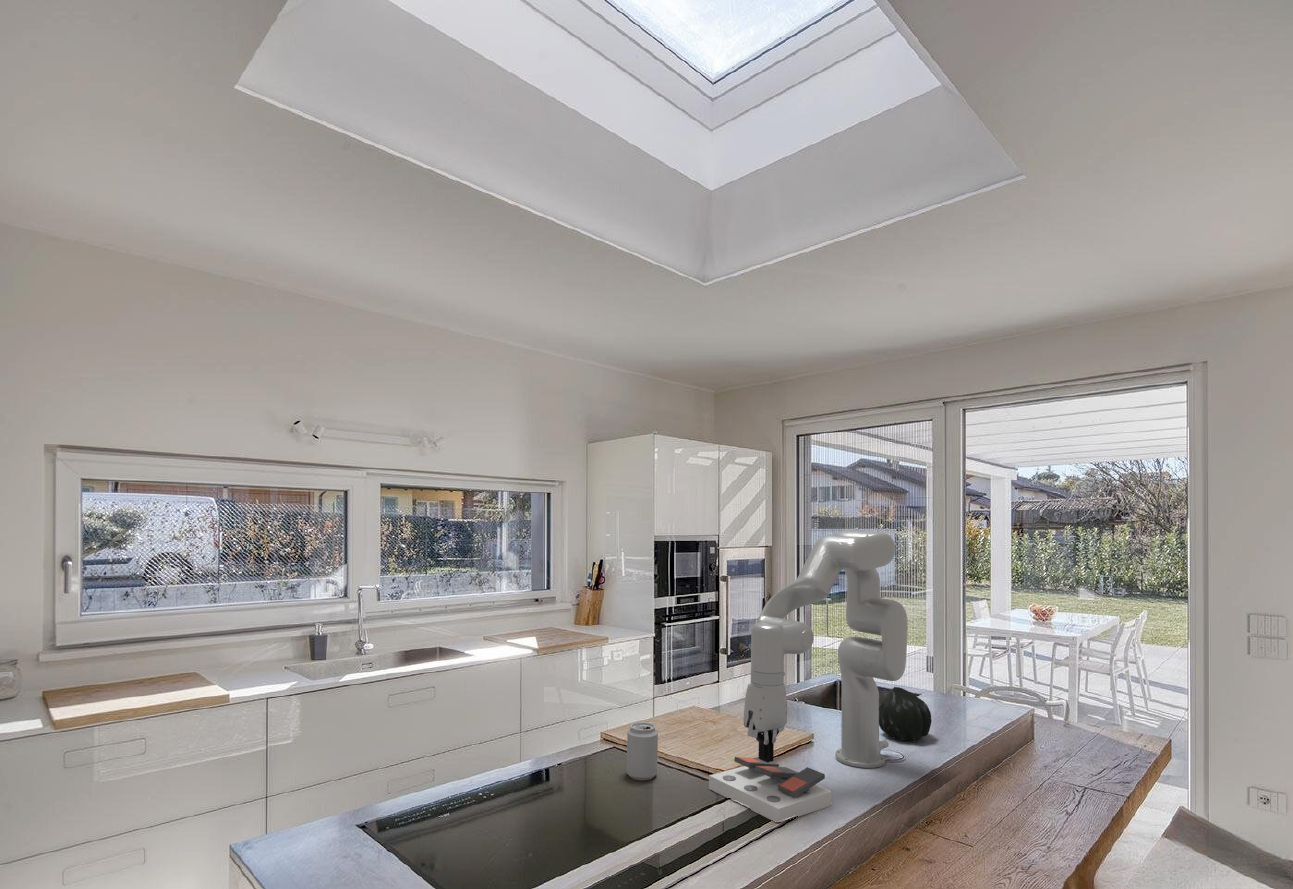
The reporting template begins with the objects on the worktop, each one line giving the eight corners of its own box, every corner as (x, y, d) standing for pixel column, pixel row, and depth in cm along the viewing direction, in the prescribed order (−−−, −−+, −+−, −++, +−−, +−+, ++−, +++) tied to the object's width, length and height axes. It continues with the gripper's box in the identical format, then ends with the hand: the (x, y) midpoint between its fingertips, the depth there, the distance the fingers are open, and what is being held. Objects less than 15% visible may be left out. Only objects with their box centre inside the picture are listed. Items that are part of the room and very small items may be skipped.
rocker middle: (784, 771, 174) (785, 766, 174) (800, 777, 170) (801, 772, 170) (755, 770, 168) (755, 765, 168) (770, 777, 164) (771, 772, 164)
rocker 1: (763, 762, 180) (764, 757, 180) (778, 768, 175) (779, 763, 176) (734, 761, 174) (734, 756, 174) (748, 767, 170) (749, 762, 170)
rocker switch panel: (760, 773, 181) (761, 757, 181) (831, 805, 163) (831, 787, 163) (708, 788, 171) (709, 771, 171) (778, 823, 153) (778, 804, 153)
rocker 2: (807, 771, 169) (807, 766, 168) (825, 778, 164) (824, 773, 164) (778, 789, 163) (777, 784, 163) (795, 797, 159) (794, 792, 159)
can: (653, 782, 174) (655, 731, 174) (623, 779, 175) (624, 728, 176) (659, 771, 181) (660, 721, 182) (630, 768, 182) (631, 719, 183)
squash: (948, 720, 212) (913, 674, 219) (929, 733, 201) (893, 685, 208) (913, 744, 219) (880, 699, 226) (892, 758, 207) (858, 711, 214)
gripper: (777, 671, 176) (776, 749, 174) (732, 678, 167) (730, 761, 166) (801, 677, 170) (800, 759, 168) (755, 685, 161) (753, 771, 160)
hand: (765, 759), depth 167 cm, fingers closed
